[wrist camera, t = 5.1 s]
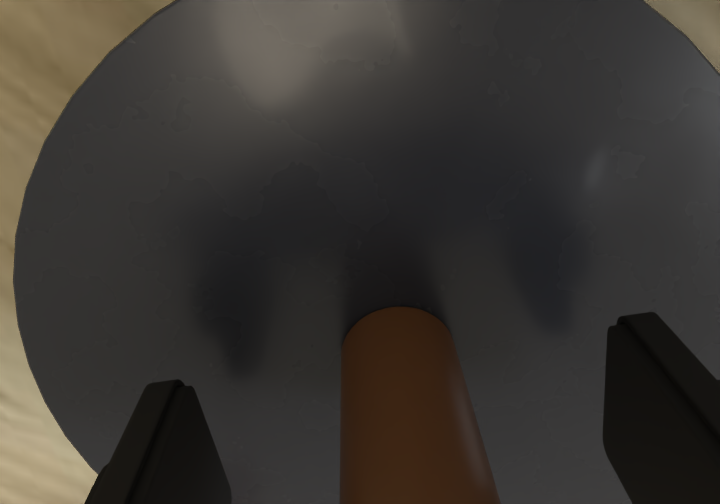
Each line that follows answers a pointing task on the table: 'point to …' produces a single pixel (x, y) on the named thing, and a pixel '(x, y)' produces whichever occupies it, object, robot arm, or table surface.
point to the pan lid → (375, 239)
